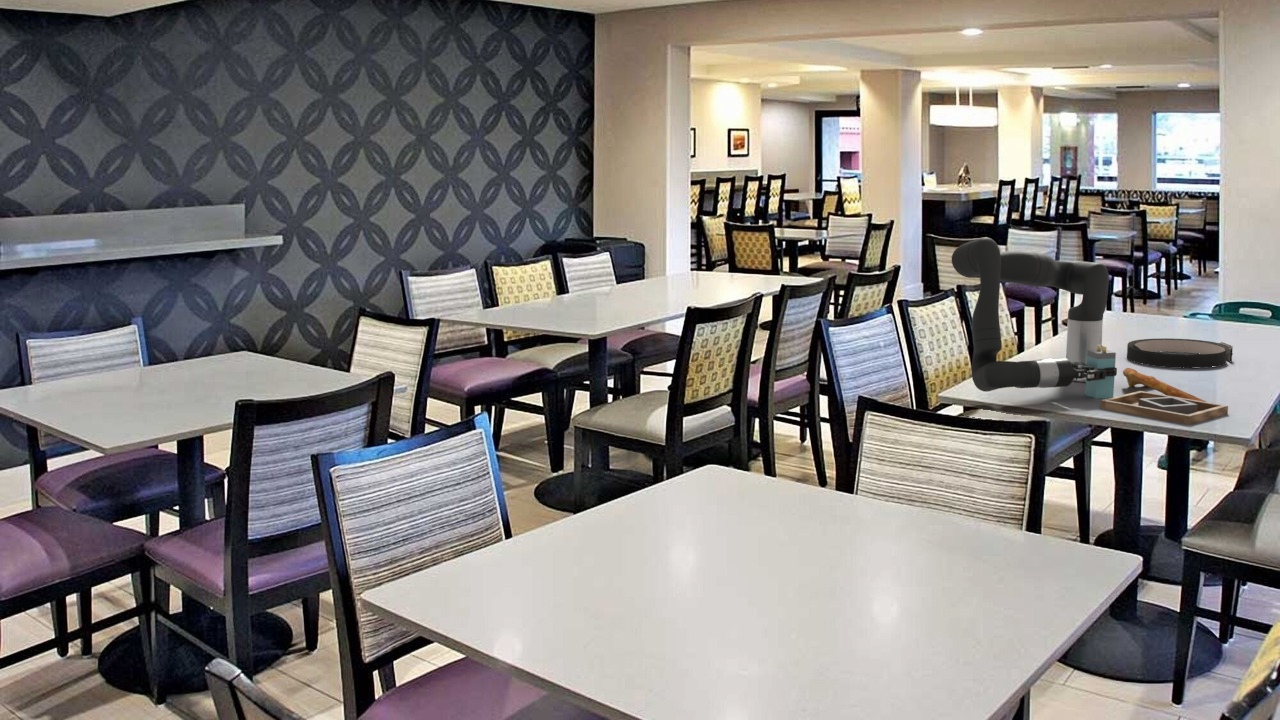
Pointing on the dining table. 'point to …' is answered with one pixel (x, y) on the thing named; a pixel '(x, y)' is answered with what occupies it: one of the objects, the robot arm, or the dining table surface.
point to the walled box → (1130, 405)
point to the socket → (1169, 404)
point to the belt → (1208, 351)
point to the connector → (1100, 360)
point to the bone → (1155, 384)
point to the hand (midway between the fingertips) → (1109, 369)
